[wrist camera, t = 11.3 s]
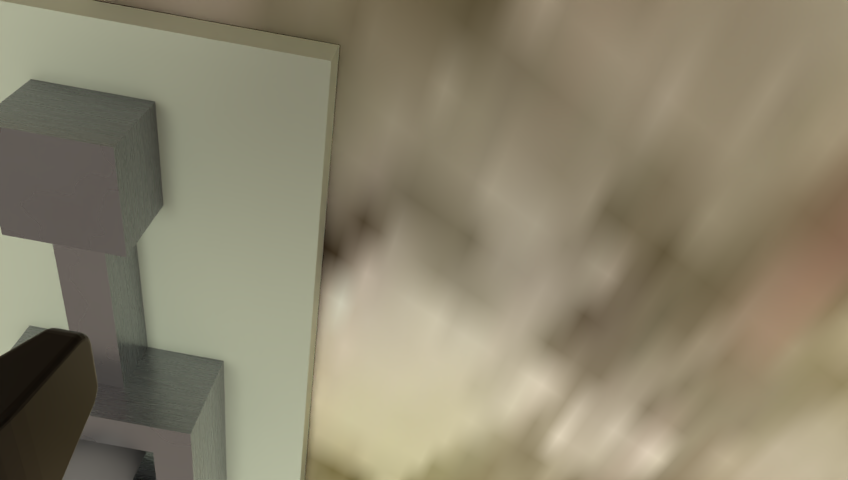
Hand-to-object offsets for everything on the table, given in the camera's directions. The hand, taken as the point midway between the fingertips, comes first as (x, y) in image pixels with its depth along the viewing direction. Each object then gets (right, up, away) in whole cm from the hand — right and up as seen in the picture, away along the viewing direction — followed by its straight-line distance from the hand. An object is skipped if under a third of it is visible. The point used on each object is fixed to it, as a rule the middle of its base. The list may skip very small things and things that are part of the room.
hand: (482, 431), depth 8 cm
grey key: (-10, 0, +15) cm, 18 cm away
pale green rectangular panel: (-10, 0, +16) cm, 19 cm away
